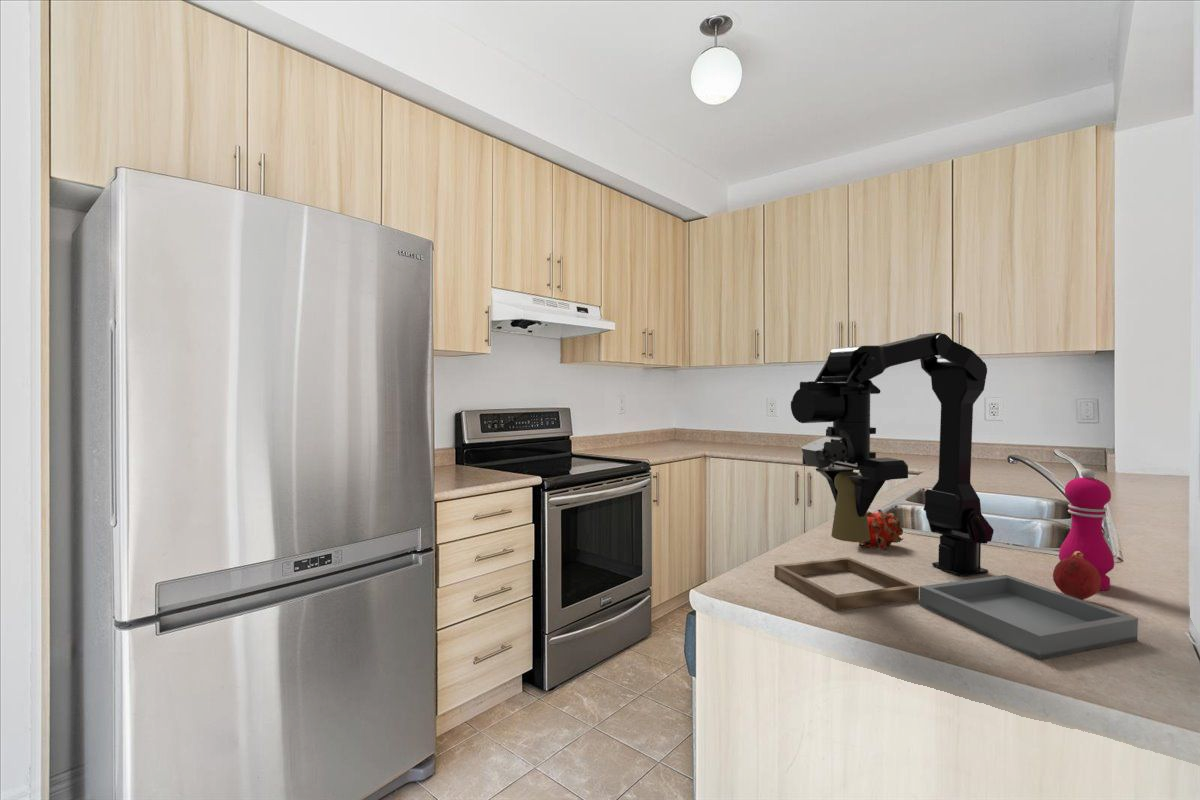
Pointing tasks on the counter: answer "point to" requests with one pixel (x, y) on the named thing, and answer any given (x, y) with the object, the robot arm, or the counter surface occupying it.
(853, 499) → the olive shaker
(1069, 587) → the pomegranate
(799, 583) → the frame
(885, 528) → the dragon fruit
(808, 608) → the counter surface
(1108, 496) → the pepper mill
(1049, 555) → the counter surface
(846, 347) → the robot arm
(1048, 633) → the gray square tray
